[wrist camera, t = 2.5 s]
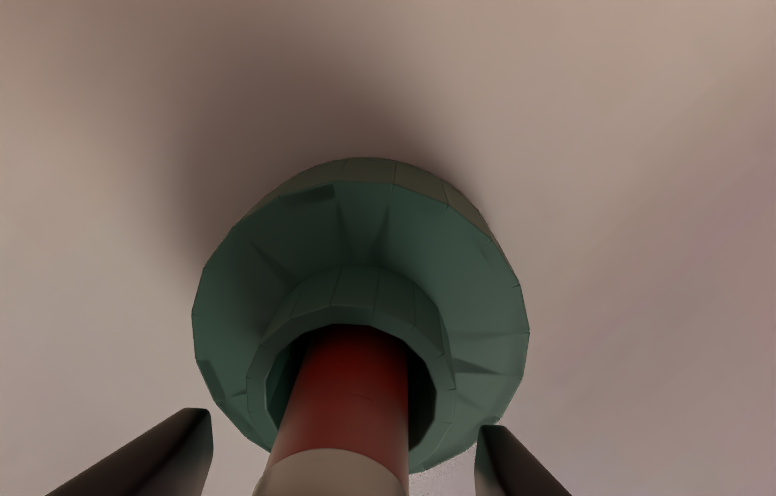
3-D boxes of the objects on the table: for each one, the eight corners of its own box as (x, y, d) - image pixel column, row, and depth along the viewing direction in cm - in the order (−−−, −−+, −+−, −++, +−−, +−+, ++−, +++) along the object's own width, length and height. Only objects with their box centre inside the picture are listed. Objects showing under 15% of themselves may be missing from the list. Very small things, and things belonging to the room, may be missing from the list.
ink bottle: (488, 412, 16) (524, 560, 11) (240, 398, 16) (171, 539, 11) (520, 164, 13) (584, 218, 8) (225, 149, 13) (127, 195, 9)
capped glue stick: (406, 337, 15) (409, 936, 5) (324, 333, 15) (150, 916, 5) (411, 261, 14) (429, 780, 4) (325, 256, 14) (115, 757, 4)
